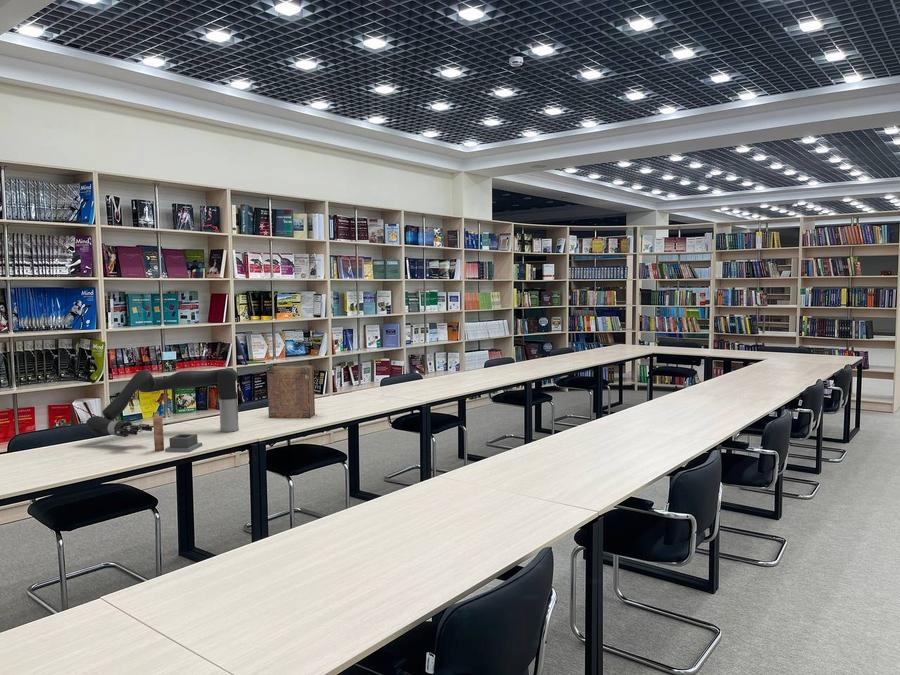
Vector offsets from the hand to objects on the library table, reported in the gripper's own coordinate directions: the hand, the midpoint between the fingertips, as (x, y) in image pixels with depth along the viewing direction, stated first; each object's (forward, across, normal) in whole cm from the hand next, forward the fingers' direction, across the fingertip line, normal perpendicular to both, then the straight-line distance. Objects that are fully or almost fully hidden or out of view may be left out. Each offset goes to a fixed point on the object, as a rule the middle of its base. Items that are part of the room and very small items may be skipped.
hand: (144, 430), depth 303 cm
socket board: (+17, -7, -9) cm, 21 cm away
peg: (+9, 0, -9) cm, 13 cm away
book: (+16, -89, -9) cm, 91 cm away
